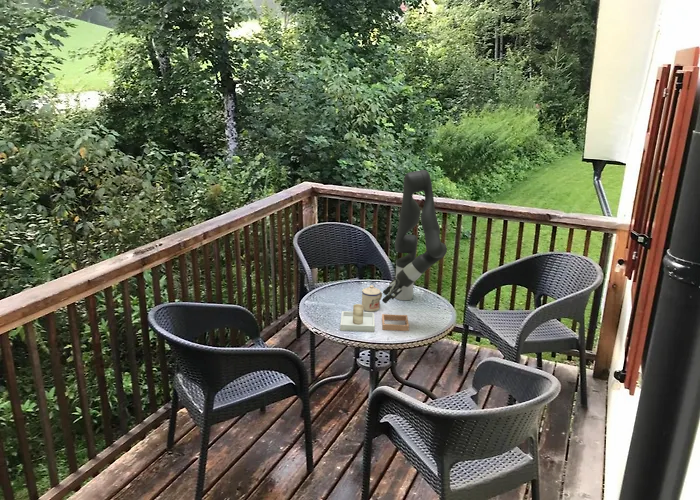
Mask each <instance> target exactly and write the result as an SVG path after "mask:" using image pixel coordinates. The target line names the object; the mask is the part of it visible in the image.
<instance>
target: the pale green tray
mask: <svg viewBox="0 0 700 500" xmlns="http://www.w3.org/2000/svg"><path fill="white" fill-rule="evenodd" d="M375 324H376V323H375V312H374V311H373V312H370V311H363V323H362V324H359V325H358V324H354V323H353V311H345V310H342V311H341V316H340V329H339V331H343V332H361V331H363V332H365V333H375V329H376V328H375V327H376V326H375Z"/></svg>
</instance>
